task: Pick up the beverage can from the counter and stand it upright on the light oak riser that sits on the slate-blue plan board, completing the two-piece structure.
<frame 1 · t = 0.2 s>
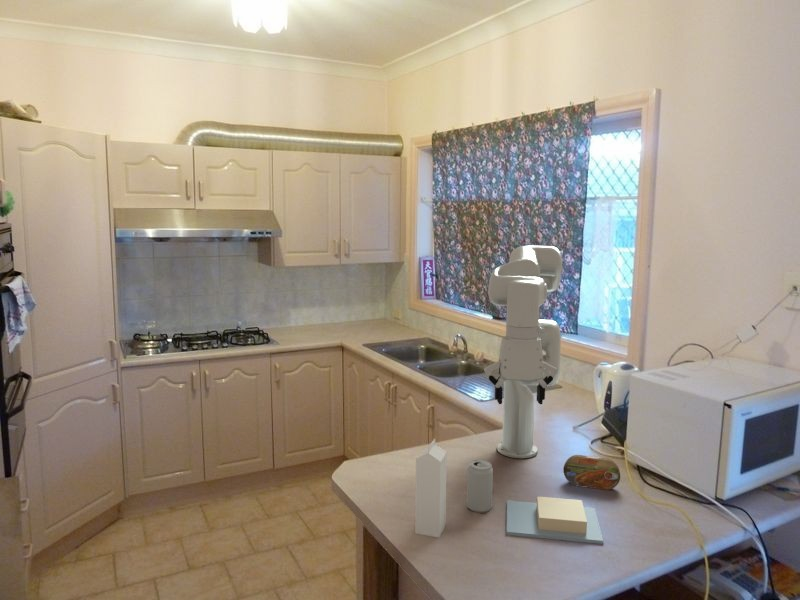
hand: (519, 402, 149), 30 cm above the countertop, tool pointing down, fingers open, 9 cm apart
tin: (590, 486, 173), on the countertop
milk: (430, 530, 149), on the countertop
plan board: (552, 522, 152), on the countertop
beverage can: (479, 508, 159), on the countertop
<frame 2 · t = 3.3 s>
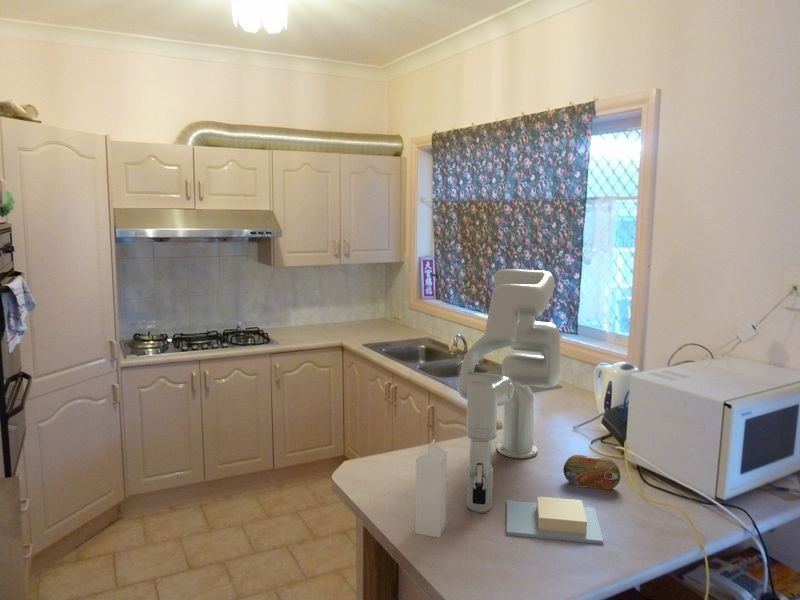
hand: (479, 496, 159), 3 cm above the countertop, tool pointing down, fingers closed on beverage can, 6 cm apart
beverage can: (479, 508, 159), on the countertop, touching gripper
everything else where it was.
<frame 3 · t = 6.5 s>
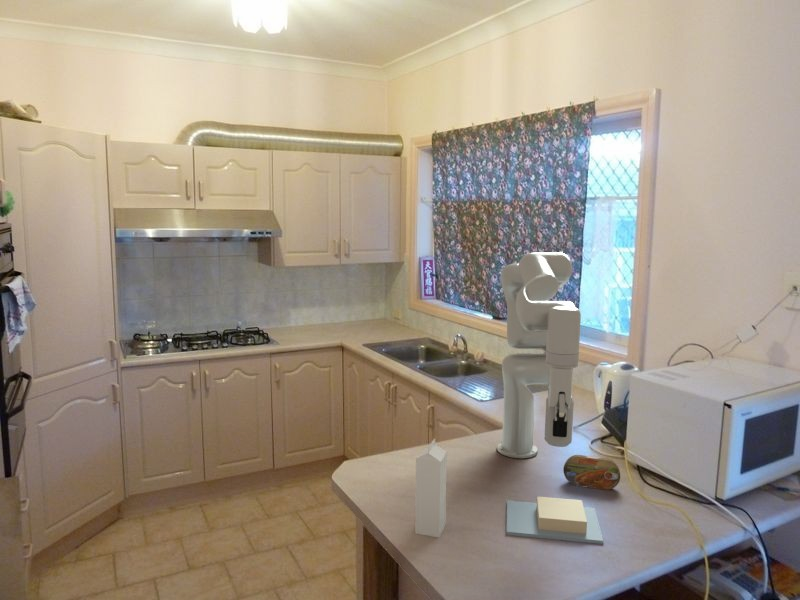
hand: (558, 430, 149), 24 cm above the countertop, tool pointing down, fingers closed on beverage can, 6 cm apart
beverage can: (557, 443, 150), point 20 cm above the countertop, touching gripper
everything else where it was.
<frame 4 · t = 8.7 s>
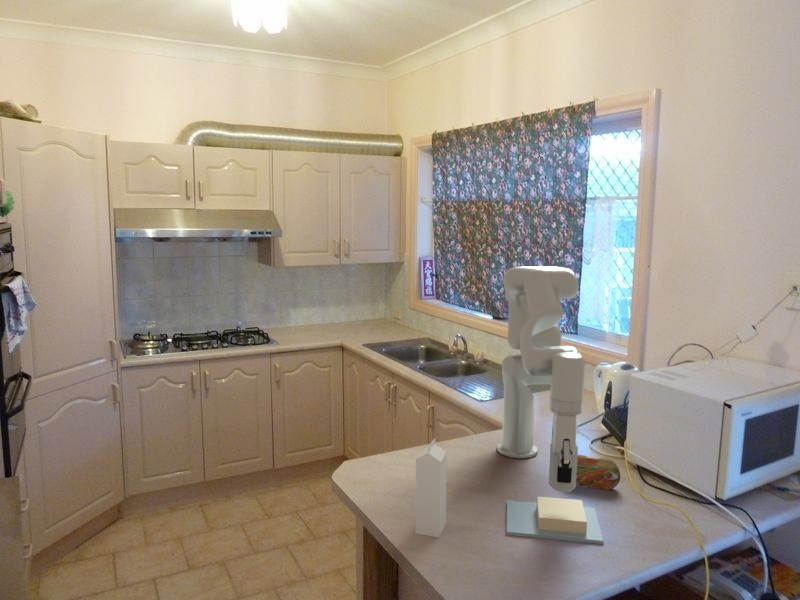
hand: (562, 475, 150), 12 cm above the countertop, tool pointing down, fingers closed on beverage can, 6 cm apart
beverage can: (562, 488, 151), point 9 cm above the countertop, touching gripper
everything else where it was.
when the fingers open (8 cm above the countertop, at t = 10.1 s): beverage can drops 1 cm, resting on plan board.
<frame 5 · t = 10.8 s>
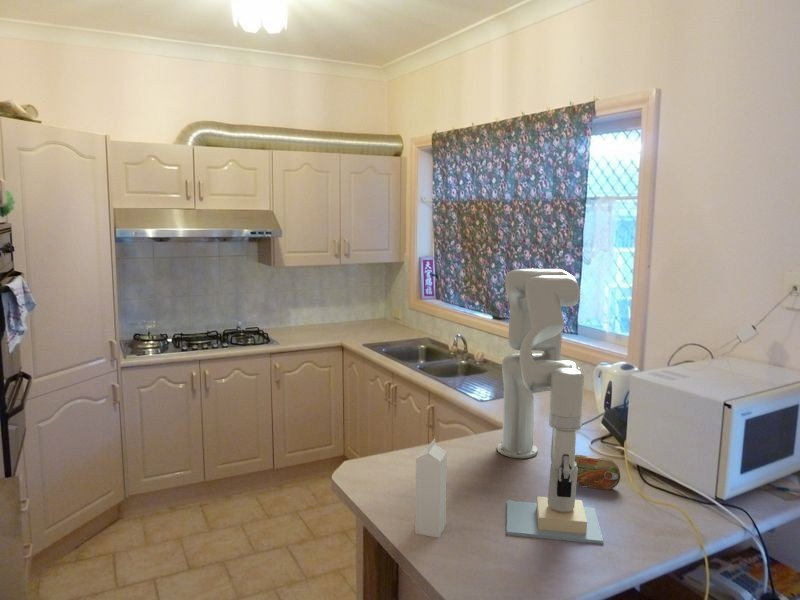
hand: (562, 487, 151), 9 cm above the countertop, tool pointing down, fingers open, 9 cm apart
beverage can: (560, 508, 152), point 4 cm above the countertop, touching plan board
everything else where it was.
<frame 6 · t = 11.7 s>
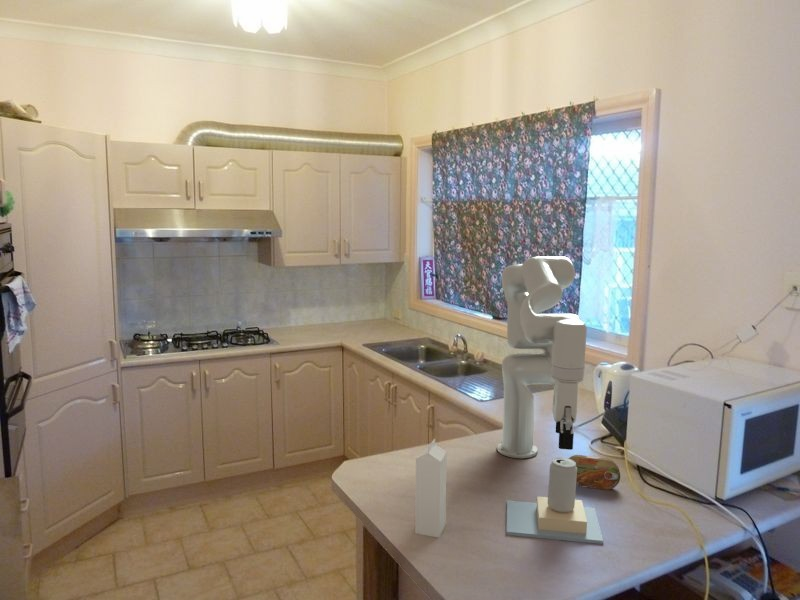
hand: (563, 440, 149), 21 cm above the countertop, tool pointing down, fingers open, 9 cm apart
nothing on the countertop moved.
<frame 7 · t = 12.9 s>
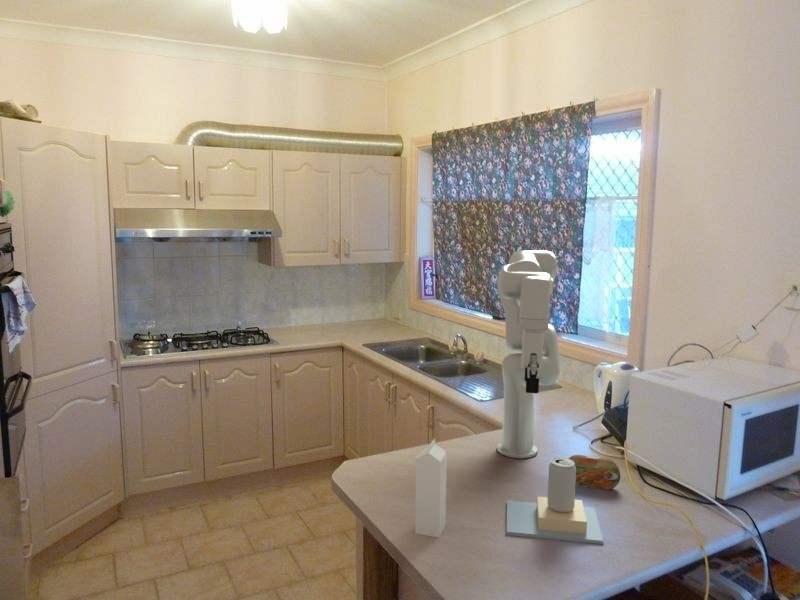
hand: (531, 386, 164), 30 cm above the countertop, tool pointing down, fingers open, 9 cm apart
nothing on the countertop moved.
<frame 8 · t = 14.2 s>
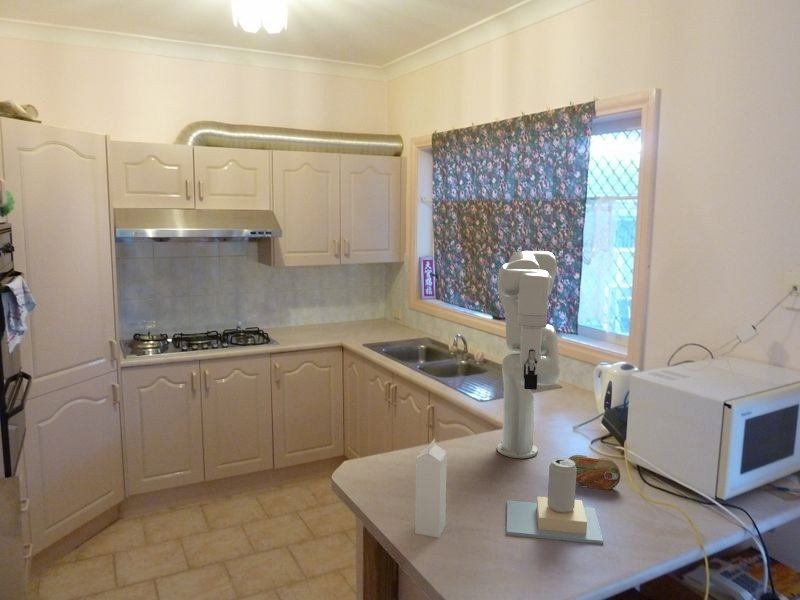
hand: (529, 383, 164), 30 cm above the countertop, tool pointing down, fingers open, 9 cm apart
nothing on the countertop moved.
at the end: beverage can 0.2 cm from the target spot on the plan board, point 3.6 cm above the plan board's base; beverage can tilted 0°; the gripper is holding nothing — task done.
